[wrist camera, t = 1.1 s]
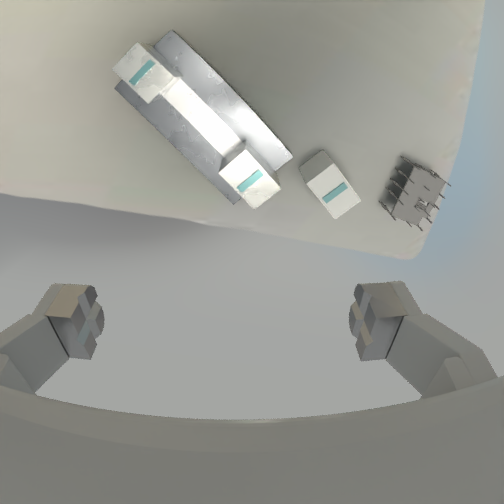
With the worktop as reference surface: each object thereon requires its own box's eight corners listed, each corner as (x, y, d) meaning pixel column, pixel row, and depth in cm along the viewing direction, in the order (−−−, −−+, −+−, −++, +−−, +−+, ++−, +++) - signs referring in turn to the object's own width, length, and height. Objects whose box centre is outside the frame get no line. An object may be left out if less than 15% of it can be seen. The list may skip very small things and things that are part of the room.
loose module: (322, 149, 39) (334, 163, 34) (347, 182, 42) (362, 201, 36) (298, 167, 41) (306, 184, 35) (324, 199, 43) (335, 220, 38)
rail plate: (170, 28, 30) (156, 21, 25) (294, 157, 40) (302, 173, 34) (115, 85, 33) (93, 89, 28) (236, 203, 43) (234, 226, 38)
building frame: (432, 169, 40) (453, 185, 35) (409, 215, 44) (426, 234, 39) (400, 153, 39) (420, 167, 34) (377, 202, 43) (393, 221, 38)
